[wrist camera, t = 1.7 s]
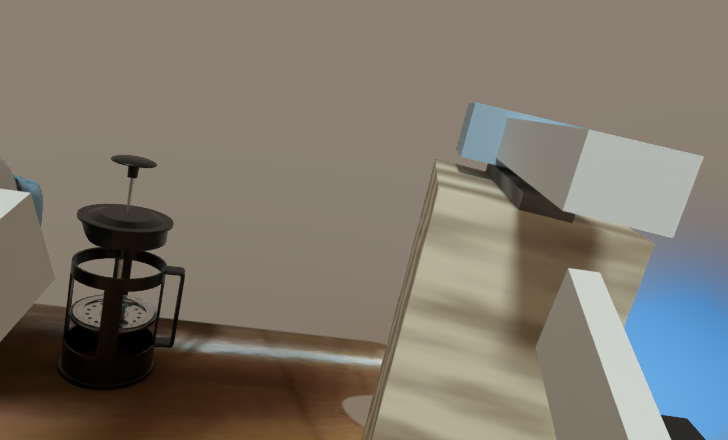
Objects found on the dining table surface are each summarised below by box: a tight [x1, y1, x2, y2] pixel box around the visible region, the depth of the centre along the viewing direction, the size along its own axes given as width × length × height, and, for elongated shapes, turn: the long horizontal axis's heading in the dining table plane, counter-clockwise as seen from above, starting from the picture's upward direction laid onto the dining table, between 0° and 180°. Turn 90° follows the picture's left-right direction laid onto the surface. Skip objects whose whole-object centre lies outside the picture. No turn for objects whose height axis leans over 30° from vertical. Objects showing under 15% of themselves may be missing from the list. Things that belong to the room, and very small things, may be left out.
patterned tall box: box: [362, 159, 655, 440], centre depth 42 cm, size 18×12×31 cm, turn 173°
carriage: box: [457, 103, 703, 238], centre depth 33 cm, size 28×9×4 cm, turn 173°
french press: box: [58, 155, 185, 390], centre depth 56 cm, size 12×9×23 cm
